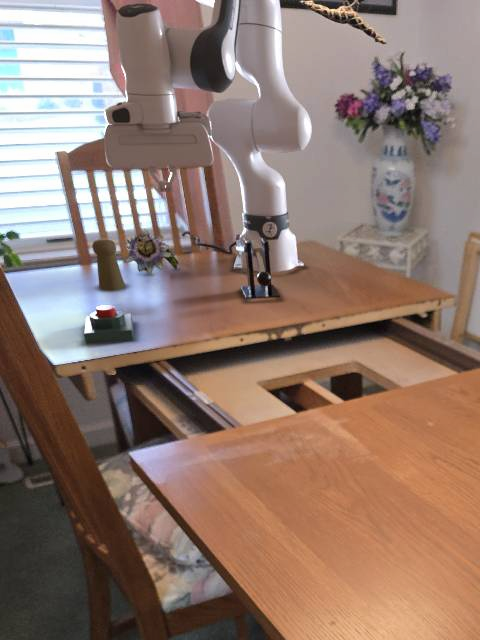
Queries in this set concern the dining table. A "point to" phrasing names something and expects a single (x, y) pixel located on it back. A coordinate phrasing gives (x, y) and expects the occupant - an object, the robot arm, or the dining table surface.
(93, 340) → the button block
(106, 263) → the cork
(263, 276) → the lever
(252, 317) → the dining table surface
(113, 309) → the button
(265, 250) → the black two-post stand
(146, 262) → the passion flower
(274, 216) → the robot arm
